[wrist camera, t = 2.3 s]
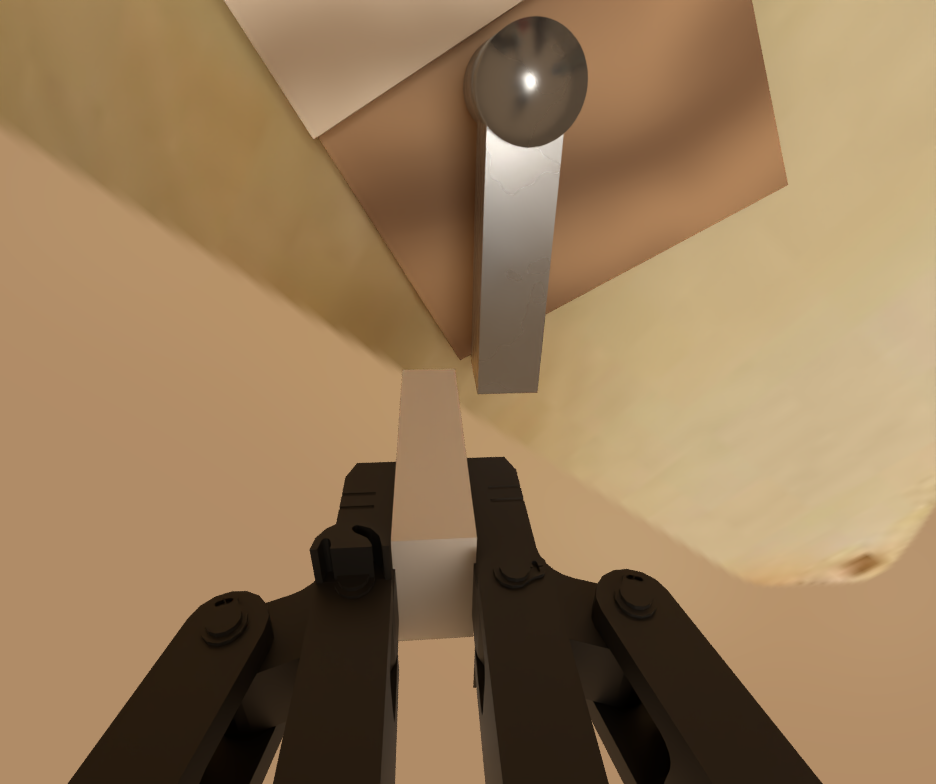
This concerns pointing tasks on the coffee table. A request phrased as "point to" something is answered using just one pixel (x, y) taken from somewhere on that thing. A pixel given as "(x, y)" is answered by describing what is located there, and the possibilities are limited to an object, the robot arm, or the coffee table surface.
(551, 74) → the bar
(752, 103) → the door board
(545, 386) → the coffee table surface
